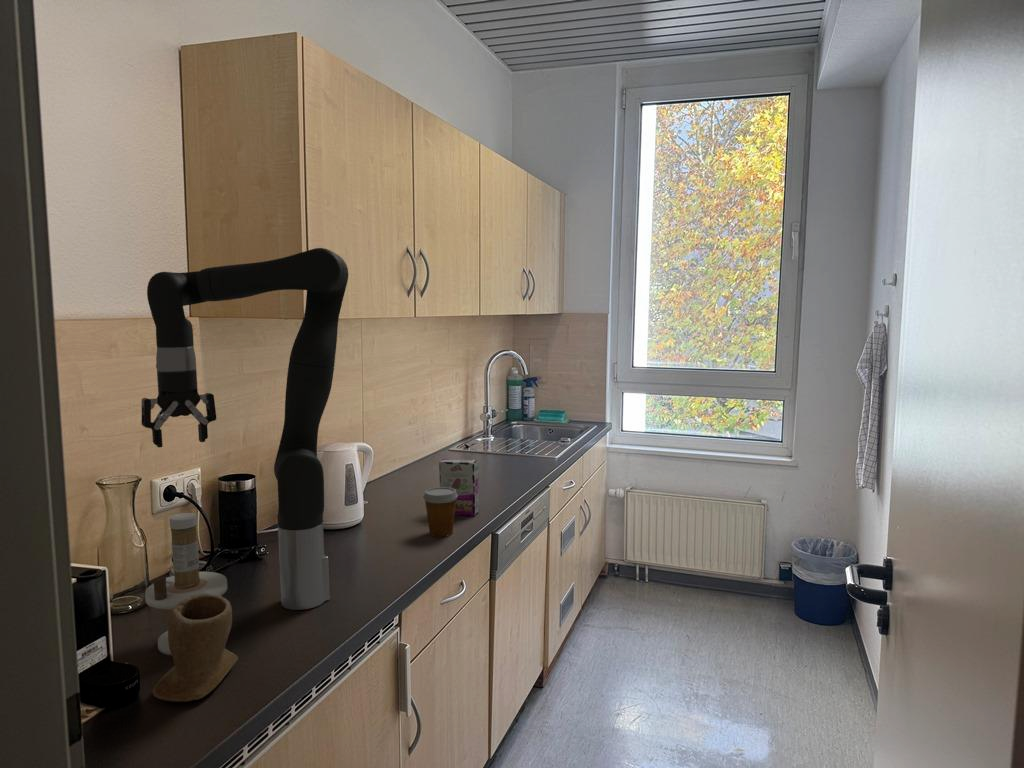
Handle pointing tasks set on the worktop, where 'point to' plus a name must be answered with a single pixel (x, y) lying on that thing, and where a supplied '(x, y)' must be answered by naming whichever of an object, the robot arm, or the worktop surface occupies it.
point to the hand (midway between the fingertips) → (181, 444)
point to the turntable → (183, 590)
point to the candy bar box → (462, 483)
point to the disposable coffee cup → (440, 510)
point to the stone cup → (197, 648)
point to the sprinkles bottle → (185, 550)
